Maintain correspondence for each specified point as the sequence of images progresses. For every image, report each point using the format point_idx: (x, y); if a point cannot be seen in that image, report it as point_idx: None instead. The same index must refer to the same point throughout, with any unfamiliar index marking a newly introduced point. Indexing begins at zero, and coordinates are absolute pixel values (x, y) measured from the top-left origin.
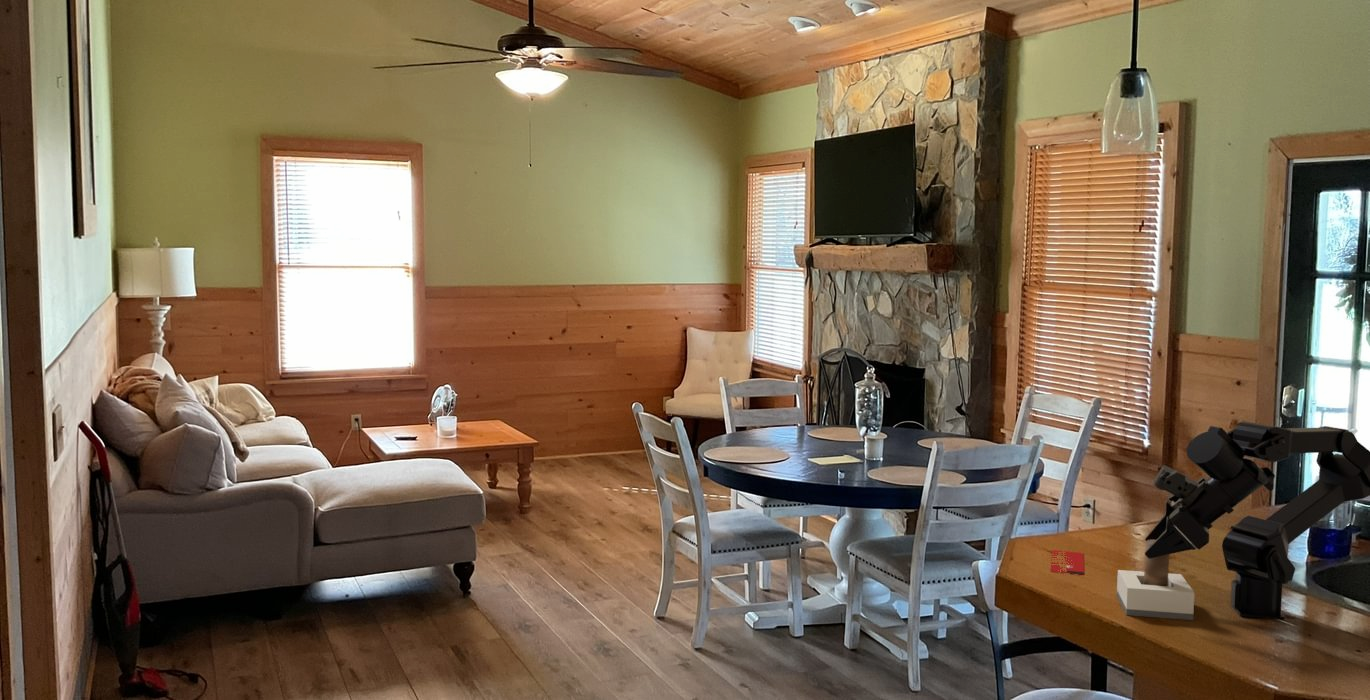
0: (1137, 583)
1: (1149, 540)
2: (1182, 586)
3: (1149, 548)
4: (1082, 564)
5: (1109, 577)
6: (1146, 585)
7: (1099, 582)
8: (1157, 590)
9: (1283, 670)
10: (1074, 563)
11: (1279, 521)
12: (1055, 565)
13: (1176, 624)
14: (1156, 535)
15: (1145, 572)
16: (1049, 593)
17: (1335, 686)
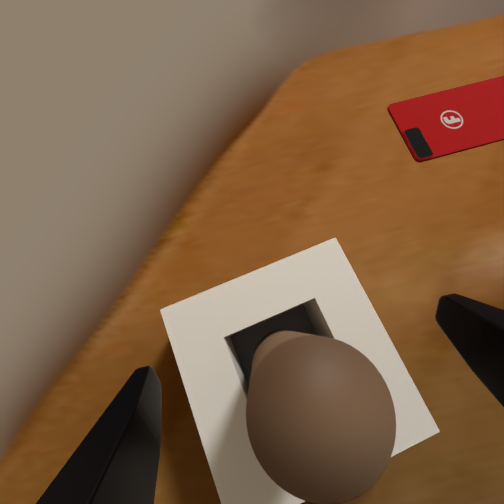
0: (226, 324)
1: (335, 349)
2: None
3: (110, 406)
4: (492, 138)
5: (446, 209)
6: (221, 355)
7: (390, 201)
8: (190, 400)
9: None
10: (484, 124)
11: None
12: (436, 100)
13: (178, 444)
14: (495, 357)
15: (267, 340)
16: (239, 144)
17: None
